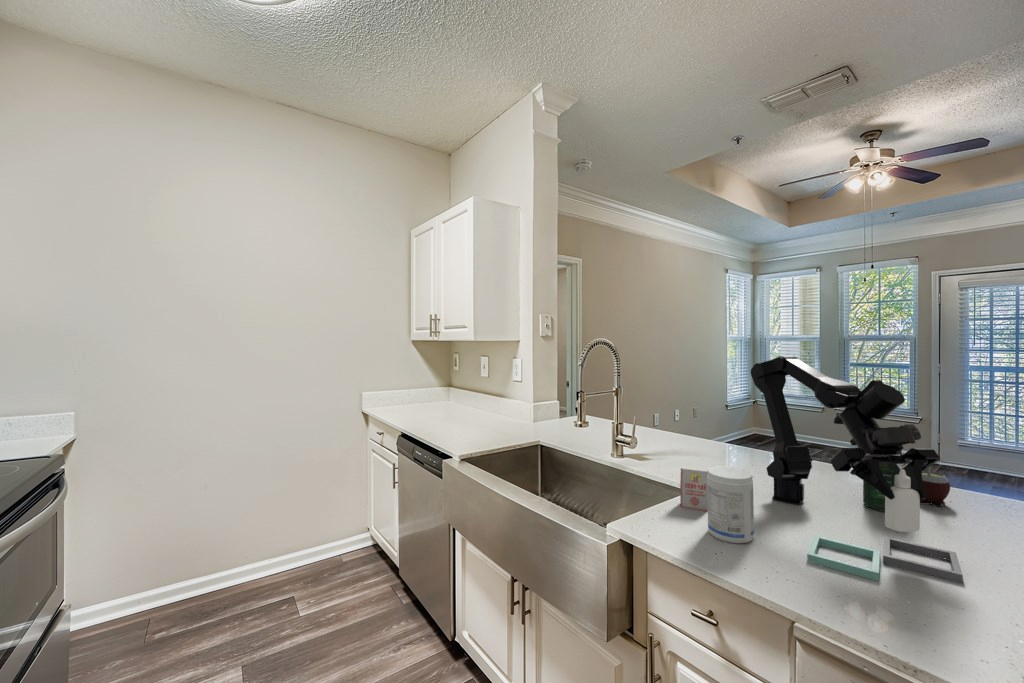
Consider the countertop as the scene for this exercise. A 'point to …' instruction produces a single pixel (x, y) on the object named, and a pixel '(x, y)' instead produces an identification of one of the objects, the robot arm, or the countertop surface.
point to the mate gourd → (935, 488)
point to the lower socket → (842, 565)
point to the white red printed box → (693, 489)
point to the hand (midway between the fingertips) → (908, 498)
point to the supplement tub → (730, 504)
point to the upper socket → (921, 567)
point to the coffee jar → (873, 495)
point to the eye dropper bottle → (903, 506)
